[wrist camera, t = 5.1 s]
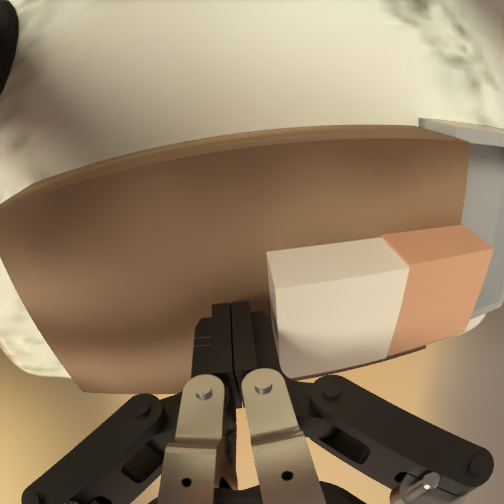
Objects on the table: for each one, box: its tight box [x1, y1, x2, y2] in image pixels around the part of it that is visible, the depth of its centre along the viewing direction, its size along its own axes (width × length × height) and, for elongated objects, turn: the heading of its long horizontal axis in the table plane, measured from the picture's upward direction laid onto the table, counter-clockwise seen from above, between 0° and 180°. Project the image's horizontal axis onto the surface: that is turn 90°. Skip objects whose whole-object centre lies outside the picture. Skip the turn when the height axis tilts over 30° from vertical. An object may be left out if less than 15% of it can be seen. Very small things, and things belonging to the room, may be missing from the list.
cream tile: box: [266, 237, 410, 378], centre depth 12 cm, size 5×5×2 cm
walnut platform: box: [0, 125, 470, 394], centre depth 15 cm, size 13×23×5 cm, turn 97°
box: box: [419, 118, 504, 319], centre depth 16 cm, size 14×10×4 cm
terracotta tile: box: [381, 225, 494, 356], centre depth 12 cm, size 5×5×2 cm
